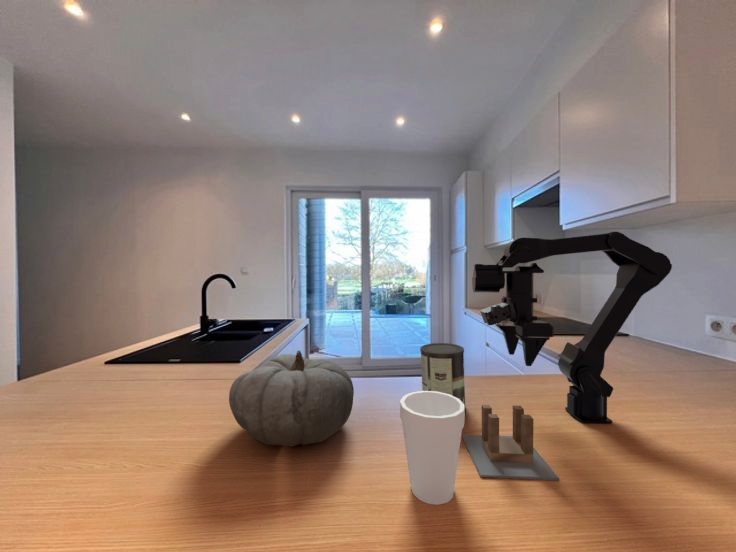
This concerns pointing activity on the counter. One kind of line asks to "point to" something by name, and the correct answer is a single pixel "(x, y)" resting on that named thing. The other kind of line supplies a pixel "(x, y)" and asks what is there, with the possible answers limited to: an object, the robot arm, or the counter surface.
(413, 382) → the counter surface
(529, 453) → the wooden chair
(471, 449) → the mat
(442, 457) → the foam cup
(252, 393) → the gourd
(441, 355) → the coffee can
